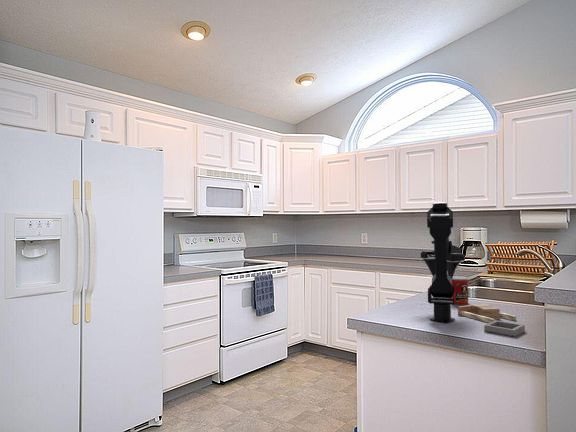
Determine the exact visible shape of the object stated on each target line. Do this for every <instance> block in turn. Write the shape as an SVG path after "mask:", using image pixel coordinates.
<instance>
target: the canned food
mask: <svg viewBox="0 0 576 432" xmlns="http://www.w3.org/2000/svg"><path fill="white" fill-rule="evenodd" d="M452 286H454V299H455V305H468V303H469V278H468V277H467V276H462V275H461V276H460V275H459V276H457V275H455V276H454V275H453V278H452ZM450 299H453V295H452V298H450Z"/></svg>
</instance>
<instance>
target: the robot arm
mask: <svg viewBox="0 0 576 432" xmlns="http://www.w3.org/2000/svg"><path fill="white" fill-rule="evenodd" d="M426 226H427V228H428V229H429V235H430V236H431V237H432V239H433V240H431V244H432V245H433V250H422V251H421V252H420V259H422V261H424V263H425V264H426V266H427V268H428V270H429V271H430V274H431V275H432V277H431V278H432V279H431V284H429V287H428V288H427V303H429V304H433V316H432V317H431V318H429V320H430V321H433V322H438V323H445V324H447V323H450V322H453V321H456V318H453V317H452V314H451V313H452V309H451V307H452V306H454V305H456V304H455V299H454V286H452V278H453V276H454V274H455V271H456V269H457V267H458V265H460V264H463V262H465V260H466V259H465V254H464V253H461V252H462V248H461V247H459V246H457V245H453V242H452V240H450V236H451V235H452V228H454V213H453V210H452V209H451V208H449V206H448V202H446V201H441V202H440V201H437V202H433V203H432V207H431V208H430V209H429V210H428V211H427V216H426ZM452 295H453V299H450V298H452Z"/></svg>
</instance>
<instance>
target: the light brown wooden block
mask: <svg viewBox="0 0 576 432" xmlns="http://www.w3.org/2000/svg"><path fill="white" fill-rule="evenodd" d="M478 304H479V305H475V304H471V305H472V313H473V314H477V315H481V316H485V317H489V318H493V319H495V320H500V319H501V317H500V311H501V310H500V308H499V307H496V306H492V305H491V304H488V303H487V304H486V303H483V304H482V303H478Z"/></svg>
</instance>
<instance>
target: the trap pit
mask: <svg viewBox="0 0 576 432" xmlns="http://www.w3.org/2000/svg"><path fill="white" fill-rule="evenodd" d="M483 327H484V328H483V329H484V333H485V332H486V333H491V334H497V335H502V336H506V337H507V336H508V337H513V338H515V337H517V336H519V335H521V334H522V333H525V331H526V329H525V327H526V326H525V324H520V323H515V322H509V321H504V320H503V321H501V320H498V319H495V321H493V322H490V323H488V322H487V323H485V324H484V325H483Z"/></svg>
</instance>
